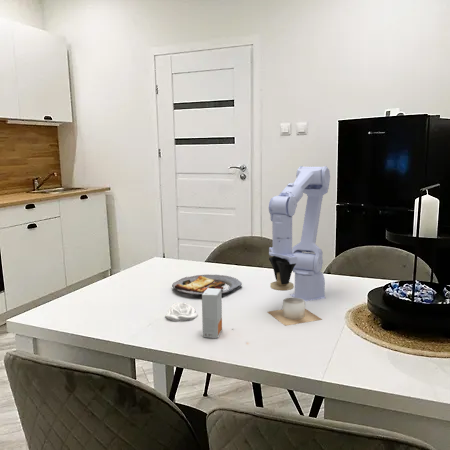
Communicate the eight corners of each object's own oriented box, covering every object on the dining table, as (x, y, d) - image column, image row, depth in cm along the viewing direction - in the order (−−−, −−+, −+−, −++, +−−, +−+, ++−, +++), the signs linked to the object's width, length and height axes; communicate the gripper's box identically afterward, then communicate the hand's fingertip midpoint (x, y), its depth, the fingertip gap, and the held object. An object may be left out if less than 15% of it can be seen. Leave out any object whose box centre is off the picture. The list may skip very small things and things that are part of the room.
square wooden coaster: (301, 308, 142) (301, 306, 142) (322, 321, 130) (322, 319, 130) (266, 313, 138) (266, 311, 138) (285, 327, 126) (285, 325, 126)
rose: (178, 295, 143) (203, 300, 138) (179, 309, 144) (204, 314, 139) (157, 305, 135) (183, 310, 130) (158, 319, 136) (184, 325, 130)
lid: (287, 282, 138) (287, 269, 138) (297, 289, 132) (297, 275, 131) (266, 284, 137) (266, 271, 136) (275, 291, 130) (275, 277, 129)
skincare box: (218, 338, 120) (217, 295, 118) (202, 337, 121) (201, 294, 119) (222, 329, 126) (221, 288, 124) (207, 328, 127) (206, 287, 125)
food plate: (214, 303, 148) (214, 292, 147) (159, 293, 160) (159, 283, 159) (251, 285, 169) (251, 276, 168) (199, 278, 181) (199, 269, 180)
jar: (298, 310, 138) (298, 296, 137) (308, 317, 132) (309, 302, 131) (279, 313, 136) (279, 299, 135) (289, 320, 130) (289, 305, 129)
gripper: (259, 234, 137) (260, 277, 140) (281, 242, 124) (281, 290, 126) (280, 232, 140) (280, 274, 142) (303, 240, 126) (303, 287, 128)
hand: (282, 282), depth 134 cm, fingers closed on lid, 3 cm apart
